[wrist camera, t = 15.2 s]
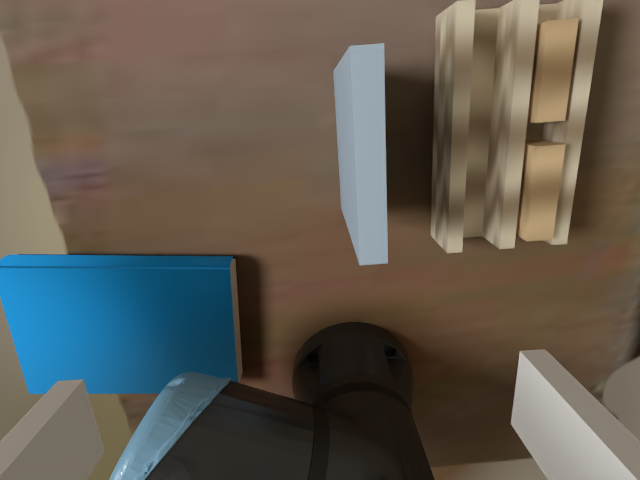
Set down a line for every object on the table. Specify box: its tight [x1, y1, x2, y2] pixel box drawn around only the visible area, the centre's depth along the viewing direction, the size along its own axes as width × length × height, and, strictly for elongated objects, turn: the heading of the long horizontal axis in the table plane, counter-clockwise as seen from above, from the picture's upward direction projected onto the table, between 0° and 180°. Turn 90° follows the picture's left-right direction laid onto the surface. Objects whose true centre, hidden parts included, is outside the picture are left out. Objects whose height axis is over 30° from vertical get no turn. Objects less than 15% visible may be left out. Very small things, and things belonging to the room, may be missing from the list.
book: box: [0, 254, 243, 394], centre depth 44 cm, size 17×4×25 cm
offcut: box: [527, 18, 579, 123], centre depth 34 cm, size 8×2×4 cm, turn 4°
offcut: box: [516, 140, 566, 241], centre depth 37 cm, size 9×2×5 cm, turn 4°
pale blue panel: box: [333, 43, 388, 265], centre depth 32 cm, size 14×2×16 cm, turn 4°
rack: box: [431, 0, 603, 253], centre depth 37 cm, size 22×12×6 cm, turn 4°
